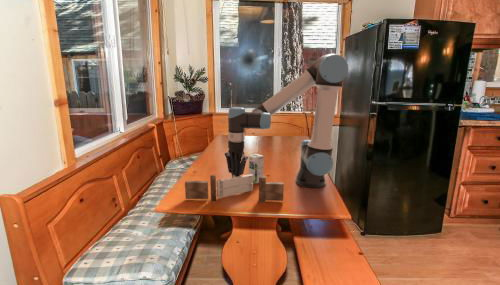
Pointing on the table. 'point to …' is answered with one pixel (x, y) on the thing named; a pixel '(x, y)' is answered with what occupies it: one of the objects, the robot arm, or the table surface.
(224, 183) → the gate
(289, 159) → the table surface
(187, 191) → the fence
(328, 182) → the table surface
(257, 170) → the syrup box
